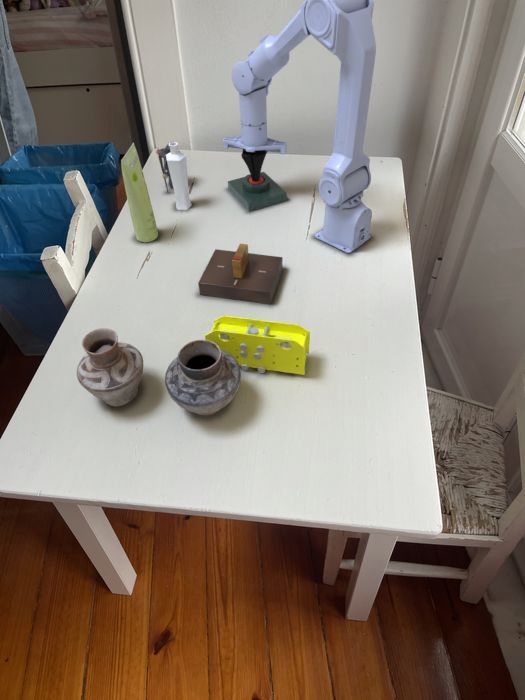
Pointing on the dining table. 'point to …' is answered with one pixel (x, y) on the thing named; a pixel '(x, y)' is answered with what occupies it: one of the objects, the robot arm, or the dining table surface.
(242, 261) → the wooden block
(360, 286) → the dining table surface
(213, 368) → the twin painted vases
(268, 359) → the yellow toy chassis
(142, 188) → the tube
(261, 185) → the box
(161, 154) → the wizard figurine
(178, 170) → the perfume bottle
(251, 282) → the knob panel
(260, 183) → the button
